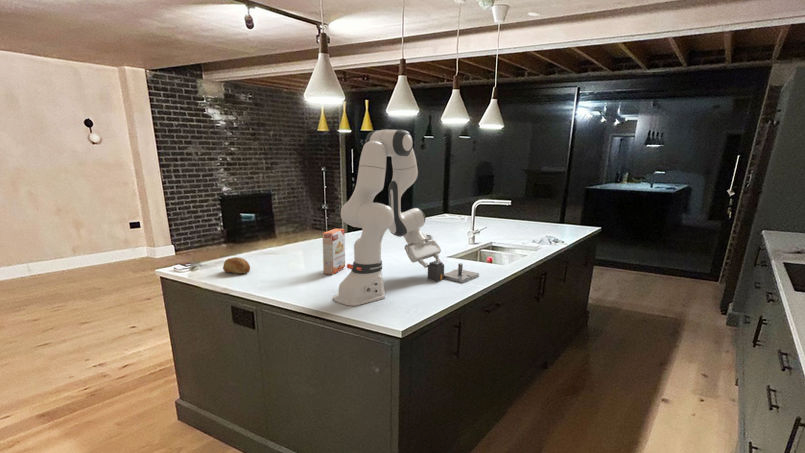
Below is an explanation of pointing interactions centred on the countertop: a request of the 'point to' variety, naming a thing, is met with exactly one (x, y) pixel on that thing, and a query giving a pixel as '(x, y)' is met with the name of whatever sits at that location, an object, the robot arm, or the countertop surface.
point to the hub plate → (460, 275)
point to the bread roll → (236, 265)
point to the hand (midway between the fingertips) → (433, 264)
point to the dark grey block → (436, 271)
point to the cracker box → (333, 251)
